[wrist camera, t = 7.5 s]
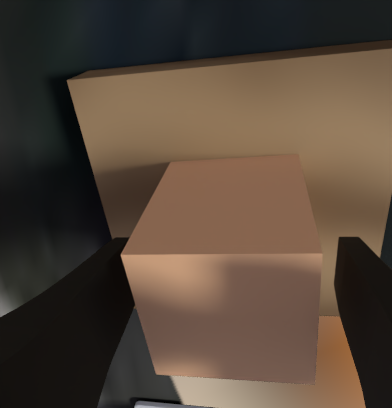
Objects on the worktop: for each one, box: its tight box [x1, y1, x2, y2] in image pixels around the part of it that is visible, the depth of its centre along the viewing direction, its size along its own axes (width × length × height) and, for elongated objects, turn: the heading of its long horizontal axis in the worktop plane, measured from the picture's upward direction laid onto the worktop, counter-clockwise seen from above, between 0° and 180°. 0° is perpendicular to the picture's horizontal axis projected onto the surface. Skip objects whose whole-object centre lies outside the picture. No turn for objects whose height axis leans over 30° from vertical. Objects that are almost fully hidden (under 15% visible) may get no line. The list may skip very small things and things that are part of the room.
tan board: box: [67, 40, 392, 316], centre depth 16 cm, size 12×12×2 cm
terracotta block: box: [121, 154, 323, 385], centre depth 12 cm, size 5×5×6 cm
